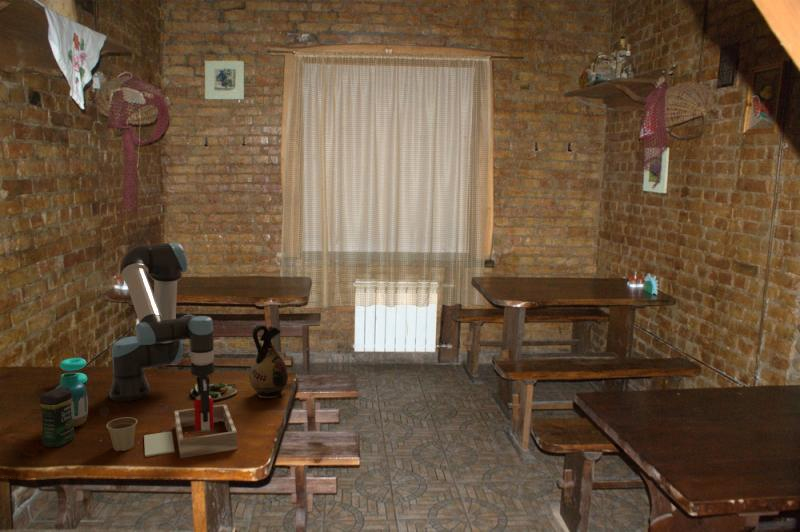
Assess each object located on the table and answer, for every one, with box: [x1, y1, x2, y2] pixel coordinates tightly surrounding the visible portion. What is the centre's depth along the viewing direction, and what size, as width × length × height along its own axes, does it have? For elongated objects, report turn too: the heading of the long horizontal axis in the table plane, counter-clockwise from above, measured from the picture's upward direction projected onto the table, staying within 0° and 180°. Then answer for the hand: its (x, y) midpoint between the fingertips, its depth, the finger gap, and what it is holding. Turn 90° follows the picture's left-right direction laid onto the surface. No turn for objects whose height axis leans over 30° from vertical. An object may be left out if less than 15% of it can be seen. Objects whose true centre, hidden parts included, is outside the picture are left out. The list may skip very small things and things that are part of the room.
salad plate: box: [189, 382, 238, 402], centre depth 256 cm, size 19×18×5 cm
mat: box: [143, 431, 176, 458], centre depth 209 cm, size 16×9×1 cm, turn 23°
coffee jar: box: [39, 387, 76, 448], centre depth 208 cm, size 10×8×19 cm
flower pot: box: [105, 416, 138, 452], centre depth 206 cm, size 9×9×9 cm
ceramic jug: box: [249, 324, 289, 399], centre depth 252 cm, size 17×15×30 cm
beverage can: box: [193, 395, 215, 433], centre depth 213 cm, size 6×6×12 cm
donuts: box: [59, 357, 88, 384], centre depth 264 cm, size 10×10×10 cm
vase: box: [55, 372, 89, 428], centre depth 221 cm, size 11×11×19 cm
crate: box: [174, 403, 238, 459], centre depth 214 cm, size 26×18×6 cm
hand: (204, 425), depth 214 cm, fingers closed on beverage can, 6 cm apart
